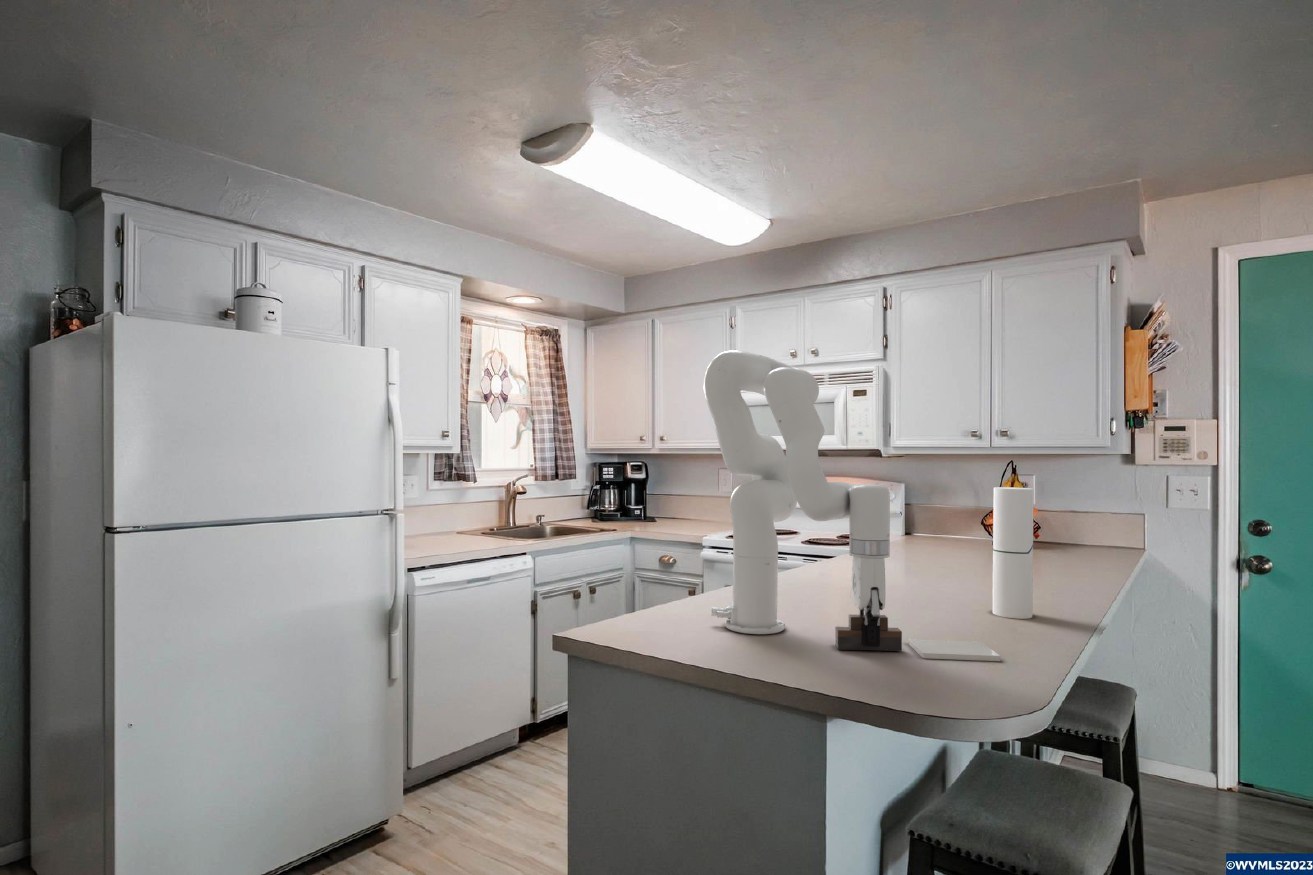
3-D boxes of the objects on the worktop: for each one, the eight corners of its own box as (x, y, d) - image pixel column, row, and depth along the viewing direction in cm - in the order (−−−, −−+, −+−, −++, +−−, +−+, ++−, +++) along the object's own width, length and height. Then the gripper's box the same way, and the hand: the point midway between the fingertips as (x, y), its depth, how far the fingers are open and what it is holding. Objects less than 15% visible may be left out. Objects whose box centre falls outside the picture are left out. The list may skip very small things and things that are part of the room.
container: (1023, 611, 180) (1024, 487, 180) (1038, 619, 171) (1039, 489, 172) (987, 609, 181) (988, 486, 181) (1000, 618, 172) (1001, 488, 172)
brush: (838, 649, 142) (837, 617, 142) (835, 645, 145) (835, 613, 145) (902, 650, 141) (901, 618, 141) (898, 646, 144) (897, 614, 144)
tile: (922, 658, 137) (922, 653, 137) (908, 644, 147) (908, 639, 147) (1000, 661, 136) (1000, 656, 136) (981, 646, 146) (981, 641, 146)
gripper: (842, 542, 152) (841, 632, 151) (857, 553, 135) (857, 654, 135) (879, 543, 151) (879, 633, 151) (899, 554, 135) (899, 655, 135)
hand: (868, 642), depth 143 cm, fingers closed on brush, 3 cm apart
